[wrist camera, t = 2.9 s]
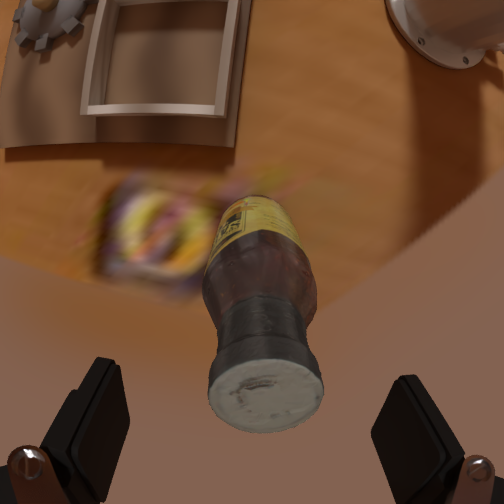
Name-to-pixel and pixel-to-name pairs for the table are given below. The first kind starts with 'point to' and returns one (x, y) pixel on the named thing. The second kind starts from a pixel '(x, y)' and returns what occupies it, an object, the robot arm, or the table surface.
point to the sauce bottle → (261, 320)
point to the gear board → (124, 72)
